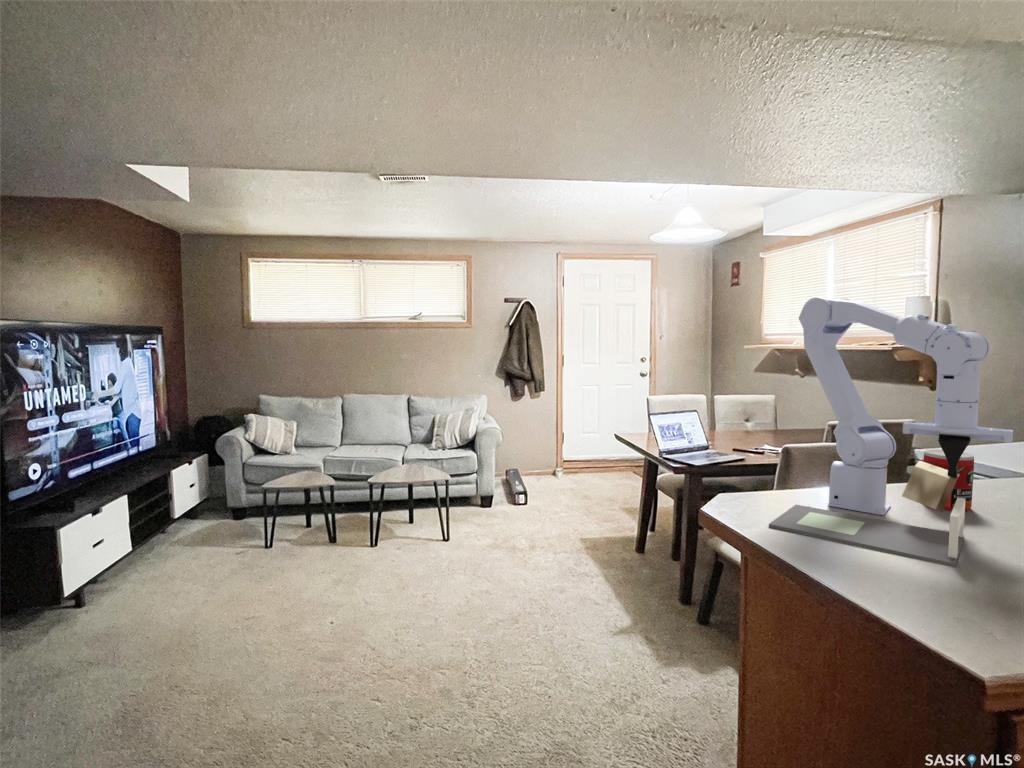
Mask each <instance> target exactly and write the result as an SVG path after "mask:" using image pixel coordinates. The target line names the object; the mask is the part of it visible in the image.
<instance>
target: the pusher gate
mask: <svg viewBox="0 0 1024 768" xmlns="http://www.w3.org/2000/svg"><path fill="white" fill-rule="evenodd" d="M950 512H951V513H950V515H949V529H948V530H949V548H948V557H953V558H957V553H958V536H960V537H963V535H964V532H965V531H964V529H965V513H966V511H965V499H964V498H957V500H956V503H955V505H954V508H953V510H952V511H950ZM964 536H965V535H964Z"/></svg>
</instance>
